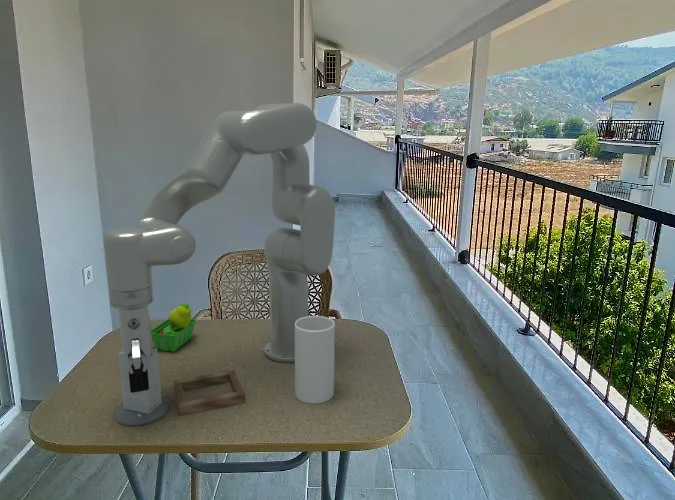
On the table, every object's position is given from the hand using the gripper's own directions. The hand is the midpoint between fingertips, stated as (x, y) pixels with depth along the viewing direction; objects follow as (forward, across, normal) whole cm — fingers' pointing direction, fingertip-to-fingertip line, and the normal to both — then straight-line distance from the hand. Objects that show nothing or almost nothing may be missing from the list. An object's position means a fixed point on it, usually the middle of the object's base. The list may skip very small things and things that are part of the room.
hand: (139, 378), depth 94 cm
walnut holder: (+7, +1, -13) cm, 15 cm away
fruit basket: (+7, +30, -9) cm, 32 cm away
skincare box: (+6, 0, 0) cm, 7 cm away
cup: (+7, -6, -34) cm, 35 cm away
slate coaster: (+7, 0, 0) cm, 7 cm away
